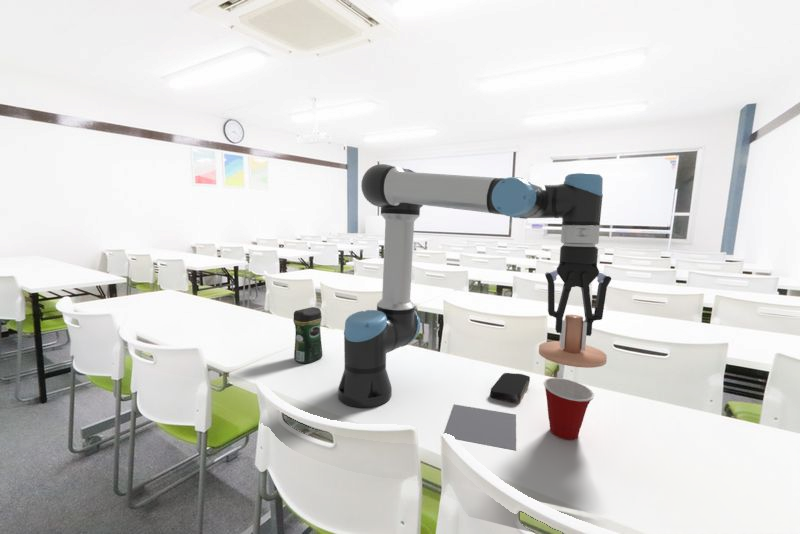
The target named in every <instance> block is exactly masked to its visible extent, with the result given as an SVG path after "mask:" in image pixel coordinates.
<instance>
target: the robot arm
mask: <svg viewBox="0 0 800 534" xmlns="http://www.w3.org/2000/svg"><path fill="white" fill-rule="evenodd" d="M603 182H604V181H603V176H602V175H601V174H599V173H596V172H576V173H570V174H567V175H566V176H565V177H564V181H563V183H560V184H542V185H541V184H536V183H534V182H531V181H529V180H527V179H525V178H523V177H515V176H512V177H506V178H503V177H491V176H489V177H488V176H475V175H460V174H443V173H428V172H416V171H413V170H412V169H409V168H403V167H398V166H393V165H389V164H383V163H382V164H381V163H380V164H375V165H373V166H370V167H369V168H368V169H367V170H366V171H365V173H364V174H363V176H362V179H361V186H360V187H361V192H362V194H363V197H364V198H365V200H366V201H367V202H369V203H370V204H371V205H373V206H375V207H378V208H380V216H382V218H383V219H384V221H385V222H384V223H385V227H384V243H383V244H384V249H383V251H384V252H383V272H382V293H381V295H382V296H381V299H380V300H379V301H377V303H376V310H374V309H367V310H360V311H357V312H355V313H352V314H350V315H349V316H348V317H347V318H346V319H345V323H344V330H343V336H344V339H343V340H344V370H343V373H342V375H341V379H340V382H339V385H338V388H337V394H338V395H337V396H338V399H339V401H340V402H341V403H342V404H344V405H346V406H349V407H354V408H359V409H360V408H374V407H378V406H382V405H384V404H386V403H387V402H389V401H390V399H392V392H393V391H392V388H393V387H392V384H391V380H390V378H389V377H390V376H389V374H388V370H387V354H388V353H390V352H392V351H394V350H397V349H399V348H401V347H406V346H408V345H409V344H410V343H412V342H413V341H414V340H415V339H416V338H417V337H418V335H419V333H420V330H421V319H420V316H418V312H417V311H416V310H415V307H416V306H415V304H414V303H413V301H411V289H412V285H411V284H412V271H413V270H412V267H413V254H414V253H413V252H414V251H413V248H414V247H413V246H414V234H415V233H414V232H415V231H414V230H415V228H414V227H415V221H417V219H418V218H419V217H420V213H421V208H422V207H423V206H428V207H437V208H446V209H452V210H453V209H454V210H461V211H470V212H479V213H488V214H493V215H494V214H495V215H502V216H506V217H512V218H514V219H524V220H527V219H562V221H561V234H560V235H561V236H560V242H561V243H562V245H561V246H560V249H559V262H558V263H559V264H558V266H557V268H556V270H553V271H547V272H545V273H544V275H545V278H546V281H547V313H548V315H549V317H553V318H555V332H556V333H557V334H559V341H560V343H559V345H560V348H561V349H564V346H565V332H566V320H565V317H564V315H565V311H566V309H567V305H568V301H569V297H570V292H572V291H571V290H572V288H575V287H579V288H580V290H581V296H582V304H583V311H584V313H583V314H584V319H583V325H582V338H581V351H585V345H587V344H586V341H587V337H591V336H592V334H593V333H592V332H593V323H594V322H595V321H602V320H603V316H604V309H605V302H606V296H607V289H608V286H609V284H610V283H611V281H612V277H611V276H610V275H607V274H604V273H602V272H600V270H599V268H598V258H599V257H598V256H599V248H598V247H597V246H596V245H598V244H600V243H599V242H600V227H601V215H602V207H603V206H602V205H603V204H602V203H603V196H604V195H603ZM557 276H559V277H560V279H561V280H562V282H563V286H562V290H561V294H560V299H559V302H558V306H557V310H555V305H556V304H555V298H556V297H555V294H556V293H555V281H556V280H557ZM596 278H597V283H598V286H597V292H596V299H595V306H594V311H593V308H592V300H591V293H590V291H591V290H590V289H591V288H590V285H591V283H593V281H594V280H595V279H596ZM593 312H594V313H593Z"/></svg>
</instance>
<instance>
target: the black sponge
mask: <svg viewBox="0 0 800 534" xmlns="http://www.w3.org/2000/svg"><path fill="white" fill-rule="evenodd" d="M530 380H531V377H530V375H527V374H526V375H525V374H523V373H512V372H504V373H502V374H501V376H500V377H499V378H498V380H496V382H495V383H494V384H493V386H491V388H490V393H489V395H490V398H491V399H494V400H499V401H504V402H509V403H513V404H514V403H515V404H519V403H521V401H522V399H523V397H524V395H525V393H526V392H527V390H528V388H529V386H530V382H531V381H530Z"/></svg>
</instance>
